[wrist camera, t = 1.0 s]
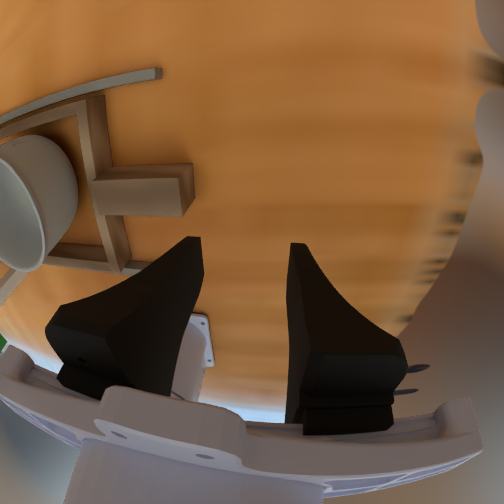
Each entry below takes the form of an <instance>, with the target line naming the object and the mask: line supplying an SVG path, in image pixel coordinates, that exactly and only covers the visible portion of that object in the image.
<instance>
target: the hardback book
mask: <svg viewBox="0 0 504 504" xmlns="http://www.w3.org/2000/svg"><path fill="white" fill-rule="evenodd" d="M6 343H7V341H6V340H5V339H4V337H3V336H2V335H1V334H0V352H1V351H2V349H3V347H4V346H5V344H6Z"/></svg>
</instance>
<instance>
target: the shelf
mask: <svg viewBox="0 0 504 504" xmlns="http://www.w3.org/2000/svg"><path fill="white" fill-rule="evenodd" d="M155 79H162V68H151V69H145V70H139V71H134V72H129V73H125V74H120V75H116V76H111V77H107V78H103V79H99V80H96V81H92V82H88V83H85V84H82V85H78V86H75V87H72V88H69V89H66V90H63V91H60V92H57V93H54V94H51V95H49V96H46V97H43V98H41V99H38V100H36V101H33V102H31V103H28V104H26V105H24V106H22V107H19V108H17V109H15V110H13V111H11V112H8V113H6V114H4V115H2V116H0V125H1V124H3V123H5V122H7V121H9V120H12V119H14V118H16V117H19V116H21V115H24V114H26V113H29V112H31V111H34V110H36V109H39V108H42V107H45V106H47V105H50V104H53V103H56V102H59V101H62V100H66V99H69V98H72V97H76V96H79V95H83V94H86V93H90V92H94V91H98V90H102V89H107V88H111V87H116V86H120V85H125V84H131V83H136V82H142V81H148V80H155ZM42 264H48V265H55V266H62V267H69V268H76V269H84V270H92V271H99V272H107V273H116V274H124V275H135V274H137V273H138V272H140V271H141V270H143V269H144V268H146V267H147V266H148V265H150V264H151V263H150V262H139V261H128V263H127V264H126V266H125V267H124V269H123V270H122V271H121V273H118V272H110V271H101V270H93V269H86V268H78V267H70V266H63V265H56V264H49V263H42ZM28 274H29V273H28V272H22V271H18V270H15V269H13V268H10V269H9V271H8V272H7V273H6V274H5V275H4V276H3V277H2V278H1V279H0V307H1V306H2V305H3V303H4V302H5V301H6V300H7V298H8V297H9V296H10V295H11V294H12V292H13V291H14V290H15V289H16V288H17V286H18V285H19V284H20V283H21V282H22V280H23V279H24V278H25V277H26V276H27V275H28Z"/></svg>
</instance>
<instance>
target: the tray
mask: <svg viewBox="0 0 504 504" xmlns="http://www.w3.org/2000/svg"><path fill="white" fill-rule="evenodd" d="M73 115H77V121H78V129H79V136H80V143H81V150H82V156H83V162H84V167H85V173H86V178H87V183H88V187H89V192H90V196H91V201H92V205H93V209H94V213H95V217H96V221H97V225H98V229H99V232H100V236H101V239H102V243H103V246H97V245H84V244H70V243H57V244H56V245H55V246H54V248H53V249H52V250H51V251H50V252H49V254H48V255H47V256H46V257H45V260H44V261H43V263H49V264H56V265H63V266H70V267H78V268H86V269H93V270H101V271H110V272H118V273H121V271H122V270H123V269H124V267H125V266H126V264H127V263H128V261H129V260H130V259H131V257H132V255H131V252H130V248H129V244H128V240H127V236H126V231H125V227H124V223H123V218H122V216H163V217H183V215H184V214H185V212H186V211H187V209H188V208H189V206H190V205H191V203H192V202H193V201H194V199H195V190H194V177H193V164H153V165H133V166H117V167H113V165H112V158H111V152H110V144H109V136H108V128H107V118H106V108H105V95H102V96H97V97H93V98H88V99H84V100H80V101H77V102H73V103H70V104H66V105H63V106H60V107H56V108H53V109H50V110H47V111H44V112H41V113H38V114H36V115H33V116H30V117H28V118H25V119H22V120H20V121H17V122H15V123H13V124H10V125H8V126H5V127H3V128H1V129H0V139H2V138H4V137H7V136H9V135H12V134H15V133H18V132H20V131H23V130H26V129H29V128H32V127H35V126H38V125H41V124H44V123H48V122H51V121H55V120H58V119H62V118H65V117H69V116H73Z"/></svg>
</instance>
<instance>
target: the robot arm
mask: <svg viewBox="0 0 504 504" xmlns="http://www.w3.org/2000/svg"><path fill="white" fill-rule="evenodd" d="M203 277H204V267H203V258H202V248H201V238H200V237H192V236H187V237H185V238H184V239H183V240H181V241H180V242H179V243H177V244H176V245H175V246H174V247H172V248H171V249H170V250H169V251H167V252H166V253H165V254H163V255H162V256H161V257H160V258H158V259H157V260H155V261H154V262H153V263H151V264H150V265H148V266H147V267H146V268H144V269H143V270H141V271H140V272H138V273H137V274H135V275H133V276H132V277H130V278H128V279H126V280H125V281H123V282H121V283H119V284H117V285H115V286H113V287H111V288H109V289H107V290H104V291H102V292H100V293H97V294H95V295H92V296H90V297H87V298H84V299H81V300H78V301H74V302H71V303H68V304H64V305H61V306H60V307H59V308H58V310H57V311H56V313H55V314H54V316H53V317H52V319H51V320H50V321H49V323H48V324H47V326H46V327H45V334H46V338H47V340H48V342H49V343H50V345H51V346H52V348H53V349H54V351H55V352H56V354H57V355H58V356H59V358H60V359H61V360H62V362H63V363H64V364H63V366H62V368H61V370H60V372H59V373H58V374H56V373H54V372H51V371H49V370H47V369H45V368H42V367H40V366H38V365H36V364H34V362H33V360H32V359H31V358H30V356H29V355H28V354H27V353H25V352H24V351H22V350H20V349H18V348H16V347H14V346H12V345H9V346H8V348H7V349H6V351H5V352H4V354H3V356H2V357H1V359H0V399H1V400H2V401H3V402H4V403H6V404H7V405H8V406H9V407H10V408H11V409H12V410H13V411H15V412H16V413H17V414H19V415H20V416H22V417H23V418H25V419H26V420H28V421H29V422H31V423H32V424H34V425H36V426H37V427H39V428H40V429H42V430H44V431H45V432H47V433H49V434H50V435H52V436H54V437H56V438H57V439H59V440H61V441H63V442H65V443H66V444H69V445H70V446H72V447H74V448H76V449H78V450H80V454H79V456H78V459H77V462H76V465H75V468H74V471H73V474H72V477H71V480H70V483H69V487H68V490H67V493H66V496H65V500H64V503H63V504H323V498H326V497H336V496H344V495H352V494H358V493H364V492H370V491H375V490H380V489H385V488H389V487H394V486H398V485H402V484H406V483H410V482H413V481H417V480H420V479H424V478H427V477H430V476H434V475H437V474H440V473H443V472H446V471H448V470H450V469H452V468H454V467H456V466H458V465H460V464H462V463H464V462H465V461H467V460H469V459H471V458H472V457H474V456H476V455H477V454H479V453H481V452H482V451H483V446H482V441H481V436H480V432H479V428H478V424H477V420H476V416H475V413H474V409H473V405H472V402H471V399H470V397H469V396H467V397H463V398H459V399H455V400H450V401H447V402H445V403H443V404H442V405H440V406H439V407H438V408H437V409H436V410H435V412H432V413H428V414H422V415H416V416H410V417H403V418H396V419H393V414H392V407H391V405H392V404H393V403H394V396H393V391H394V390H395V389H396V388H397V386H398V385H399V384H400V382H401V381H402V380H403V379H404V377H405V375H406V373H407V372H408V364H407V360H406V356H405V353H404V350H403V348H402V346H401V343H400V341H399V339H397V338H395V337H394V336H392V335H390V334H389V333H387V332H385V331H384V330H382V329H381V328H379V327H378V326H376V325H375V324H373V323H372V322H371V321H369V320H368V319H367V318H365V317H364V316H363V315H362V314H360V313H359V312H358V311H357V310H356V309H355V308H354V307H352V306H351V305H350V304H349V303H348V302H347V301H346V300H345V299H344V298H343V297H342V296H341V295H340V294H339V292H338V291H337V290H336V289H335V288H334V287H333V285H332V284H331V283H330V281H329V280H328V279H327V277H326V276H325V275H324V273H323V272H322V270H321V269H320V267H319V266H318V264H317V263H316V261H315V259H314V258H313V256H312V254H311V252H310V251H309V249H308V247H307V245H306V244H304V243H291V246H290V256H289V265H288V274H287V290H286V304H287V317H288V331H289V370H288V387H287V401H286V413H285V423H267V422H254V421H243V419H242V418H241V417H240V416H239V415H238V414H236V413H234V412H232V411H230V410H228V409H226V408H223V407H218V406H214V405H210V404H206V403H200V402H198V398H199V394H200V390H201V386H202V381H203V377H204V373H205V369H206V366H208V367H213V366H214V364H215V362H214V356H213V350H212V343H211V337H210V330H209V323H208V318H207V316H205V315H202V314H193V313H192V312H193V309H194V306H195V304H196V301H197V299H198V296H199V293H200V290H201V286H202V282H203Z"/></svg>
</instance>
